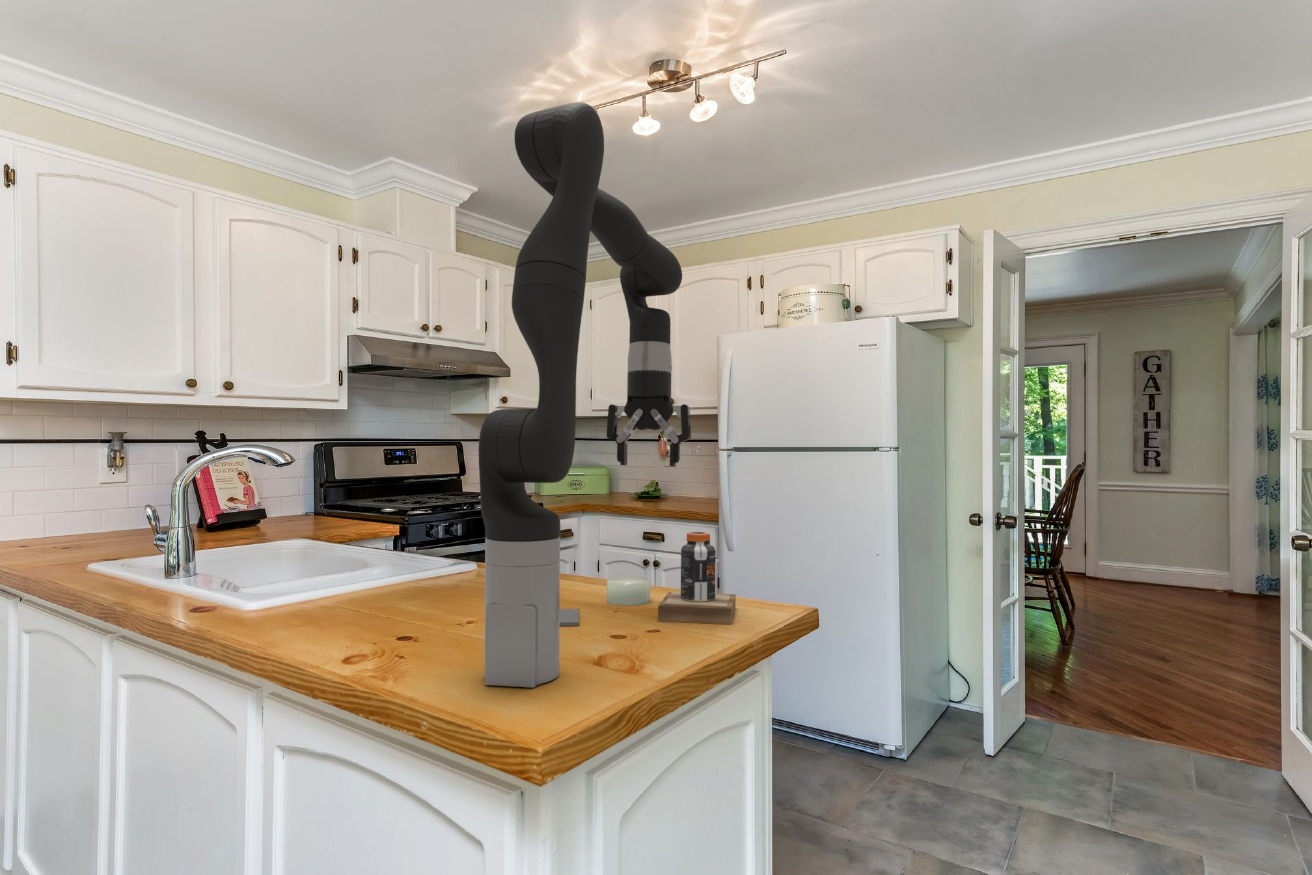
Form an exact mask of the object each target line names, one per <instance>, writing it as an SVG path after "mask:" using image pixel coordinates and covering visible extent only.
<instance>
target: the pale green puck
mask: <svg viewBox="0 0 1312 875" xmlns="http://www.w3.org/2000/svg"><path fill="white" fill-rule="evenodd" d="M606 602H607V604H610V605H613V606H622V607H623V606H624V607H625V606H626V607H627V606H629V607H631V606H641V605H645V604H649V603H650V602H651V579H650V578H647V577H642V576H615V577H610V578H608V579H606Z"/></svg>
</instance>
